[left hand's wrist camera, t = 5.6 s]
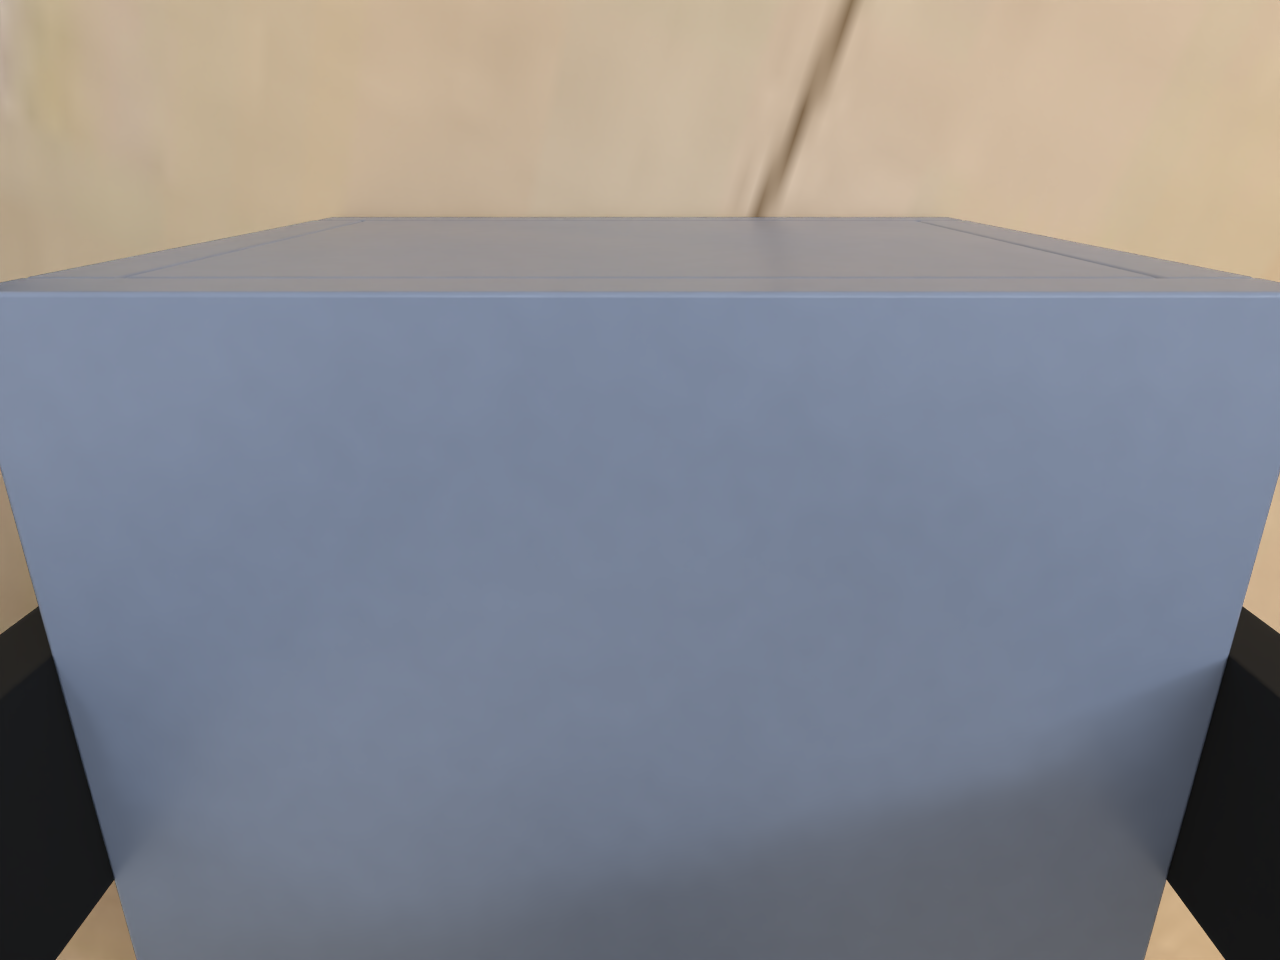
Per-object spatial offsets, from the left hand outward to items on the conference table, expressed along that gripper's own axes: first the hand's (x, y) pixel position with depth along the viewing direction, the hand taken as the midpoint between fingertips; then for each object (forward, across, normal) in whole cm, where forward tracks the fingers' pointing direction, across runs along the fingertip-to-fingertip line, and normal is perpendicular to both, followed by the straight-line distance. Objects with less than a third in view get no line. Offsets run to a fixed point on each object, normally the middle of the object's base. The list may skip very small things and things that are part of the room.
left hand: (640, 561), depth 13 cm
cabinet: (+4, 0, -4) cm, 5 cm away
